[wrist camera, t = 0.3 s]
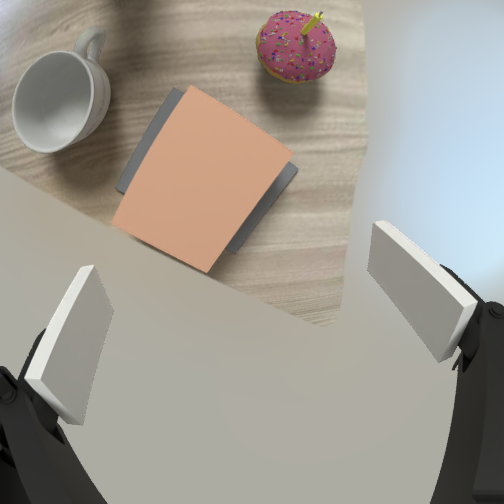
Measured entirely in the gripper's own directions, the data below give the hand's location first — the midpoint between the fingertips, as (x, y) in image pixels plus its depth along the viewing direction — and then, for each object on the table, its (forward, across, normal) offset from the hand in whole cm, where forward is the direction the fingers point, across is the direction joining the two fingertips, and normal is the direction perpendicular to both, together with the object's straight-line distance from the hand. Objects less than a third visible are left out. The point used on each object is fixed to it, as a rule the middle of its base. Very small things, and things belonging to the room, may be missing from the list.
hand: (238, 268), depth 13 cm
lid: (+19, -2, -1) cm, 19 cm away
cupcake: (+24, +9, +13) cm, 29 cm away
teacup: (+24, -15, +13) cm, 31 cm away
